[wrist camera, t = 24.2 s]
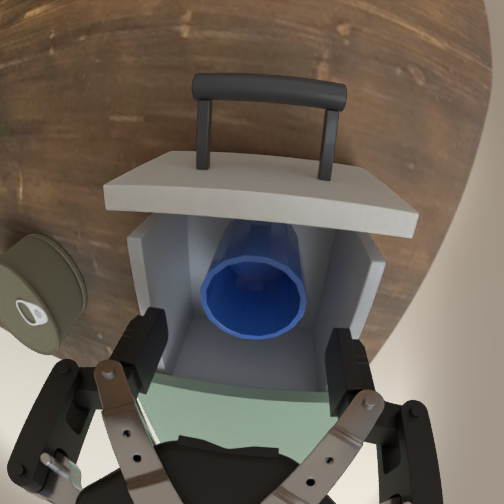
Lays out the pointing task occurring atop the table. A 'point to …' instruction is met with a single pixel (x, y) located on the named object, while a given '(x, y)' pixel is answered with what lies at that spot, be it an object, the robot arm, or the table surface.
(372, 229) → the drawer
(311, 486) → the robot arm
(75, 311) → the can
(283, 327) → the cup
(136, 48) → the table surface
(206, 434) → the mint green cabinet box
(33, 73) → the table surface
